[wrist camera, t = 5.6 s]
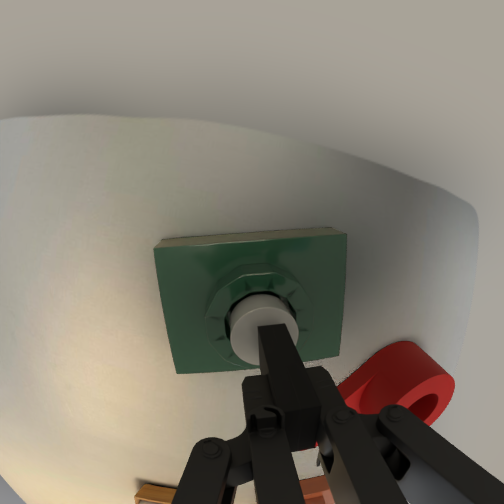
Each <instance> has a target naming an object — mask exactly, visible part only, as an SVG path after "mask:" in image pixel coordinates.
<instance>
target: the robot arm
mask: <svg viewBox="0 0 504 504" xmlns="http://www.w3.org/2000/svg"><path fill="white" fill-rule="evenodd" d="M257 327H258V346H259V365H260V371H261V375H257V376H247V377H245V379H244V380H243V382H242V392H243V402H244V410H245V419H246V428H245V430H244V431H243V433H242V434H241V435H239V436H238V437H236V438H233V439H230V440H227V441H224V440H223V439H220V438H216V437H209V438H205V439H202V440H200V441H199V442H197V443H196V444H195V446H194V447H193V449H192V452H191V455H190V457H189V460H188V462H187V465H186V467H185V470H184V472H183V475H182V477H181V480H180V482H179V485H178V487H177V490H176V492H175V495H174V497H173V500H172V502H171V504H233V503H234V498H235V494H236V490H237V486H238V485H241V484H244V483H246V482H249V481H252V480H254V486H255V492H256V499H257V504H306V503H305V499H304V496H303V492H302V489H301V485H300V482H299V478H298V475H297V471H296V468H295V464H294V461H293V457H292V453H291V452H295V451H301V450H306V449H311V448H315V446H316V441H317V444H318V446H319V453H318V458H317V466H319V465H320V463H321V465H322V468H323V471H324V474H325V477H326V479H327V482H328V485H329V488H330V491H331V493H332V496H333V499H334V502H335V504H408V502H409V503H410V504H504V484H503V483H502V482H501V481H499V480H498V479H497V478H495V477H494V476H492V475H491V474H490V473H489V472H487V471H486V470H485V469H483V468H482V467H481V466H479V465H478V464H477V463H476V462H474V461H473V460H471V459H470V458H469V457H468V456H466V455H465V454H464V453H463V452H461V451H460V450H458V449H457V448H456V447H455V446H454V445H452V444H451V443H450V442H448V441H447V440H446V439H445V438H443V437H442V436H441V435H439V434H438V433H437V432H436V431H434V430H433V429H432V428H431V427H429V426H428V425H427V424H426V423H424V422H423V421H422V420H421V419H419V418H418V417H417V416H416V415H414V414H413V413H412V412H411V411H409V410H408V409H407V408H405V407H404V406H402V405H398V404H390V405H387V406H385V407H383V408H382V409H381V410H380V413H379V414H360V413H357V411H356V410H355V409H353V408H351V407H348V406H347V405H346V403H345V401H344V399H343V398H342V396H341V394H340V392H339V390H338V388H337V387H336V386H335V383H334V381H333V380H332V377H331V376H330V374H329V372H328V371H327V370H326V369H324V368H323V367H321V366H317V367H311V368H305V367H304V364H303V362H302V360H301V358H300V355H299V353H298V351H297V349H296V347H295V344H294V342H293V340H292V338H291V335H290V333H289V331H288V329H287V326H286V324H285V323H282V324H273V325H264V326H257ZM407 501H408V502H407Z"/></svg>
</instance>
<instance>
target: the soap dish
mask: <svg viewBox="0 0 504 504" xmlns="http://www.w3.org/2000/svg"><path fill="white" fill-rule="evenodd" d="M176 490H177V489H171V488H165V487H159V486H153V485H151V484H144V485H143V487H142V488H141V489H140V490H139V491H138V492H137V494H136V495H135V496H134V498H135V503H136V504H171V502H172V500H173V497H174V495H175V492H176Z"/></svg>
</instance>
